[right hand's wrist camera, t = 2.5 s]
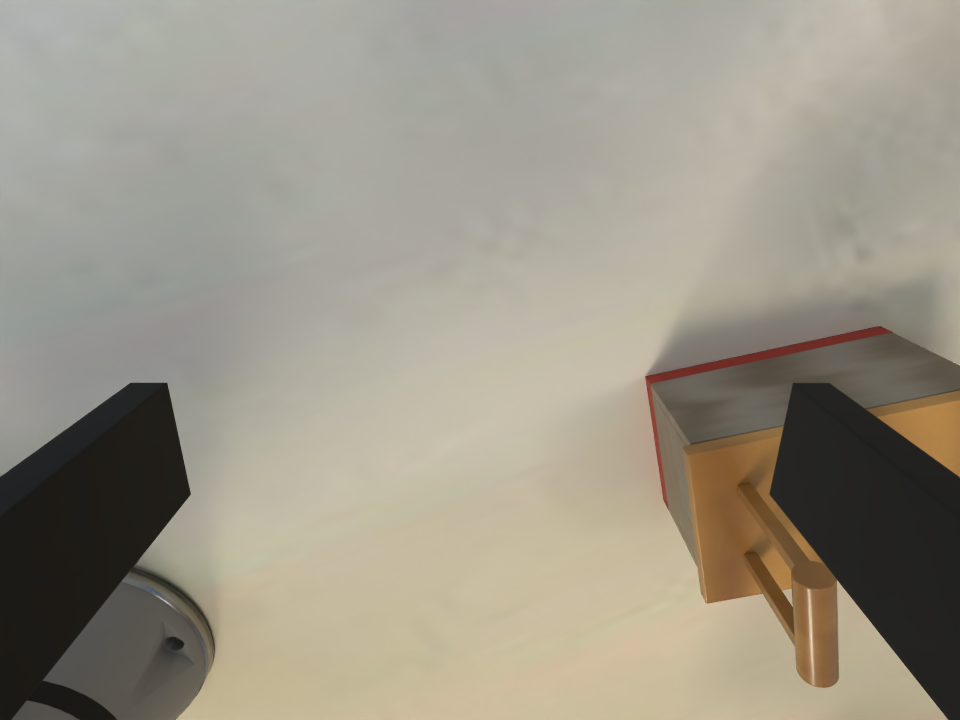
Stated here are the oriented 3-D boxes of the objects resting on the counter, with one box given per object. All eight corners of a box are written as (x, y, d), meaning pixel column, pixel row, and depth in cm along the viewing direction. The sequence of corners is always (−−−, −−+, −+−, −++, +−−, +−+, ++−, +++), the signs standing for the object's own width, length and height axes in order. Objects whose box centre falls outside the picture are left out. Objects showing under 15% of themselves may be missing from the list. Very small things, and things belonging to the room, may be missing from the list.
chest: (663, 500, 42) (708, 590, 34) (645, 376, 39) (690, 443, 31) (878, 458, 41) (979, 541, 33) (880, 326, 38) (993, 381, 29)
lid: (700, 592, 34) (767, 733, 26) (681, 445, 31) (752, 557, 23) (980, 541, 33) (1140, 673, 25) (994, 382, 29) (1186, 476, 21)
